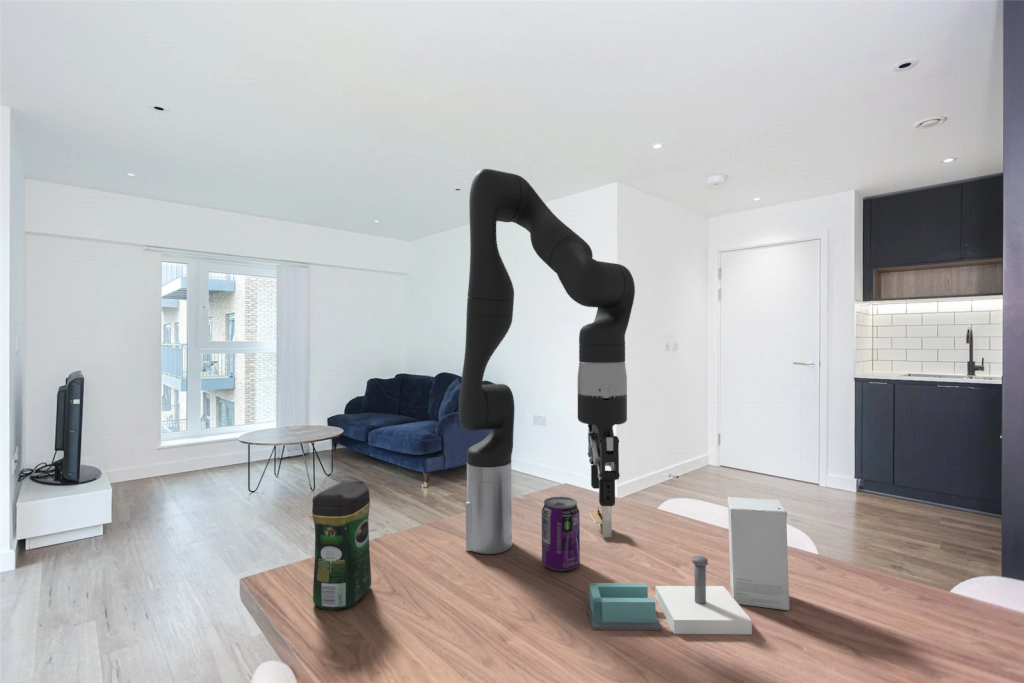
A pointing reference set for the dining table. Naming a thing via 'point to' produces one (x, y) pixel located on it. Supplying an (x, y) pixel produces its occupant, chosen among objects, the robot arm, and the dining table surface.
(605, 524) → the architectural model
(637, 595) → the c link
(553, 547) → the beverage can
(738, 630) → the stand
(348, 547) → the coffee jar
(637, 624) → the felt pad
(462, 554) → the dining table surface
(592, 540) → the dining table surface
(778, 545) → the skincare box
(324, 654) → the dining table surface
